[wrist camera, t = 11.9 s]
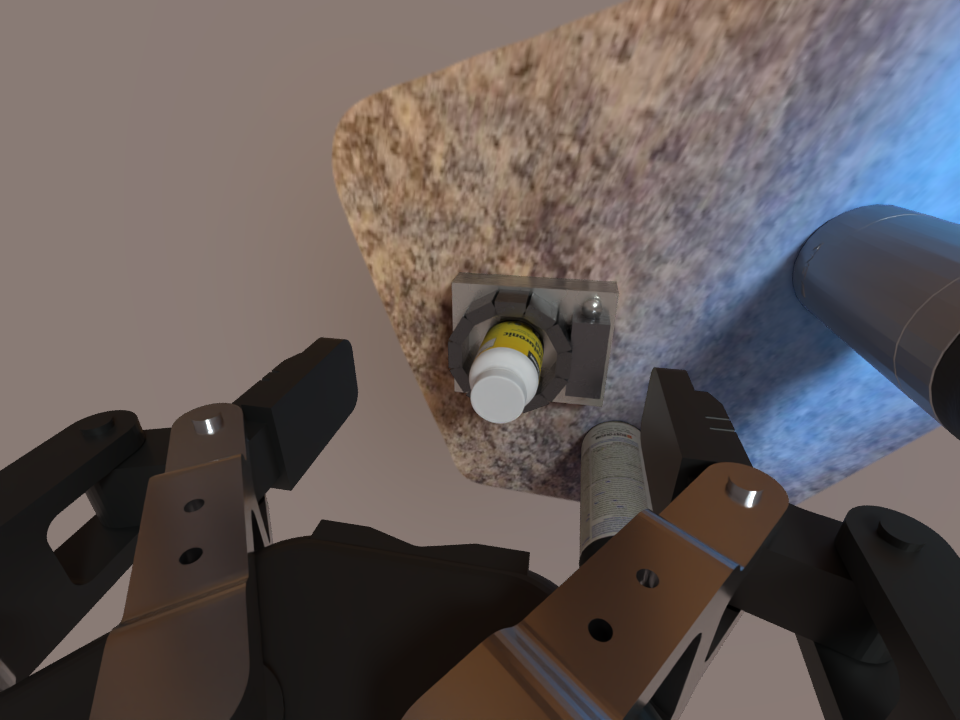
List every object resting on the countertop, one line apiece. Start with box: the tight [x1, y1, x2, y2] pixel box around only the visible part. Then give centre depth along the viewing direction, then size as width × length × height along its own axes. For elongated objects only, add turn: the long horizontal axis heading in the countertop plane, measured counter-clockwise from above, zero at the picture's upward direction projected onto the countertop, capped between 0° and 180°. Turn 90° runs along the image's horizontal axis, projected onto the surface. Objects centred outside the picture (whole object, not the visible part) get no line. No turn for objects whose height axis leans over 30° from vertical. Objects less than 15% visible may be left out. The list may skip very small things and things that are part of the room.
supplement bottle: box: [469, 318, 544, 423], centre depth 38 cm, size 5×5×10 cm
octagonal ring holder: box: [448, 272, 619, 413], centre depth 42 cm, size 14×11×6 cm
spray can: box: [579, 421, 653, 568], centre depth 40 cm, size 7×7×20 cm
